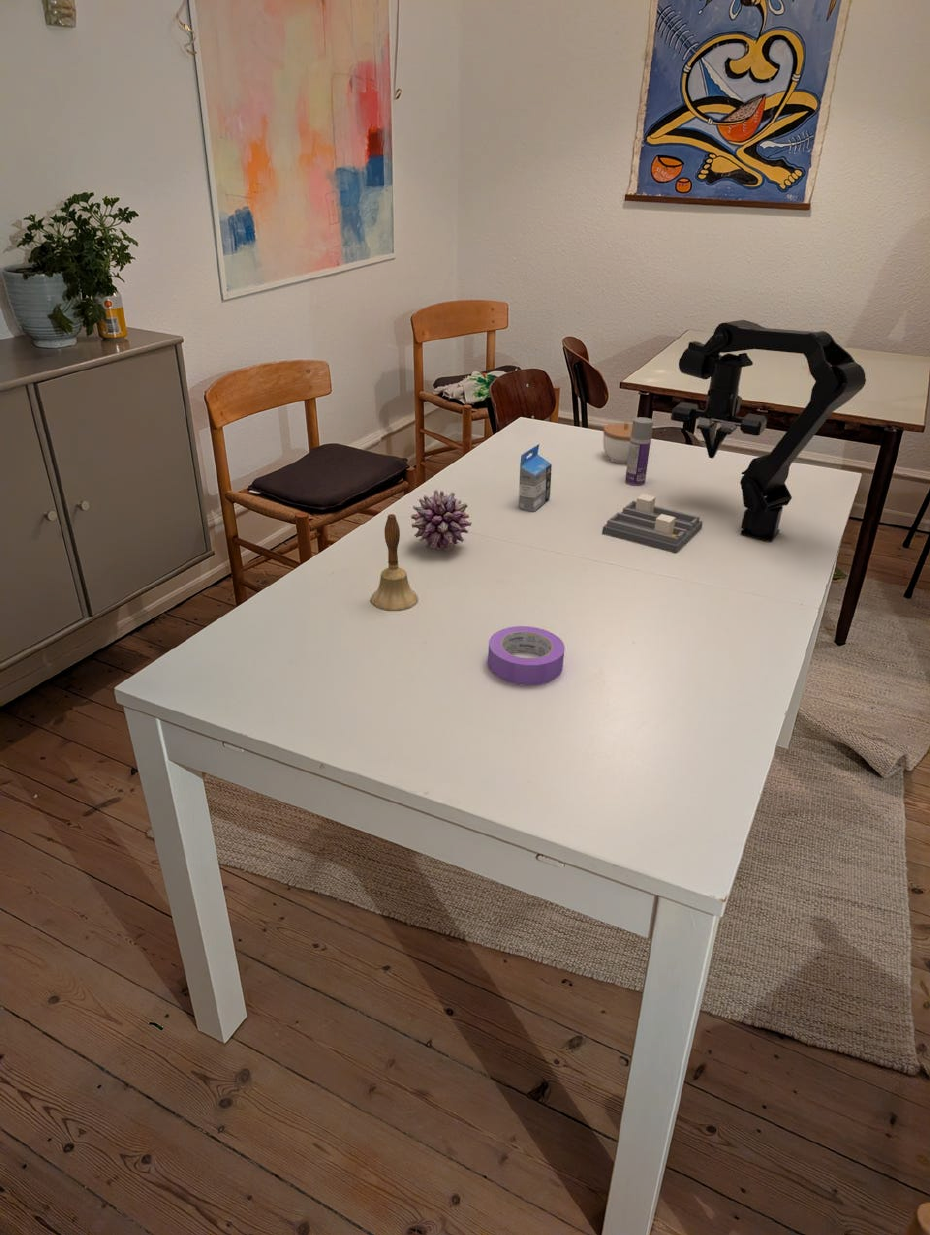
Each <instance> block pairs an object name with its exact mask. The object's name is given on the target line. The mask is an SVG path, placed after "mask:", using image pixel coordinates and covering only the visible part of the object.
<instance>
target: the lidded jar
mask: <svg viewBox="0 0 930 1235" xmlns="http://www.w3.org/2000/svg"><path fill="white" fill-rule="evenodd" d="M632 425H633V423H629V422H624V423H623V422H622V423H620V422H619V423H609V424H607V425H605V426H604V427H603V437H602V438H603V439H602V441H603V442H602V444H603V450H604V453H605V454H606V455H607V457H608V458H609V460H610V461H611V462H613V463H617V464H622V465H623V464H625V465H627V462H628V454H629V446H630V438H631V432H632Z"/></svg>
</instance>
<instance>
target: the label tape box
mask: <svg viewBox="0 0 930 1235" xmlns="http://www.w3.org/2000/svg"><path fill="white" fill-rule="evenodd" d="M539 447H540V443H538V444H536V445H535V446H533V447H532V448H530V449H528V450H527V451H525V452H523V453H522V454H521V456H520V464H519V491H518V492H519V493H518V494H519V496H518V497H519V498H518V510H523V511H527V512H535V511H536V510H538V509H539V508H540V507H541V506H543V505H544V504H545V503H546V502H548V501H549V500H551V499H550V498H551V483H552V468H553V467H552V466H553V464H552V463H551V462H549V461H548V460H546V459H545V458H544V457H542V456H540V455H539V454H538V453H539V449H540V448H539Z"/></svg>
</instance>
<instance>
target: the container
mask: <svg viewBox="0 0 930 1235" xmlns="http://www.w3.org/2000/svg"><path fill="white" fill-rule="evenodd" d="M632 424H633V425H632V432H631V438H630V446H629V454H628V462H627V464H626V470H625V471H626V472H625V479H624V482H625V484H627V485H629V486H635V487H640V486H644V485H645V484H646V478H647V472H648V464H649V458H650V450H651V443H652V435H653V434H652V433H653V426H654V425H653V424H654V420H653V419H652V418H648V417H640V416H639V417H634V418H633V420H632Z"/></svg>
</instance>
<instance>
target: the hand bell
mask: <svg viewBox="0 0 930 1235" xmlns="http://www.w3.org/2000/svg"><path fill="white" fill-rule="evenodd" d="M386 518H387V519H386V523H385V525H384V539H385V540H384V541H385V545H386V547H387V550H388V552H387V554H388V555H387V557H388V562H387V563H388V567H386V568H384V569H383V570H382V571H381V573H380V578H379V584H378V586H377V589H376V590H375V591H374V592H373V593H372V594H371V597H370V602H371V604H372V605H373V606H374V607H375V608H377V609H379V610H382V611H383V610H384V611H386V612H387V611H389V612H400V611H404V610H407V609H411V608H412V607H414V606H415V605H416V604H417V602H418V601H419V597H418V594H417V592H416V591H414V590H413V589H412V588H411V586H410V583H409V580H408V574H407V571H406V570H405V569H404V568H402V567H399V559H398V558H399V556H398V548H399V543H400V537H401V531H400V530H401V529H400V525H399V523H398V522H399V521H398V520H397V517H396V515H395V514H394V513H391V514H388V515H387V517H386Z"/></svg>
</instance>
